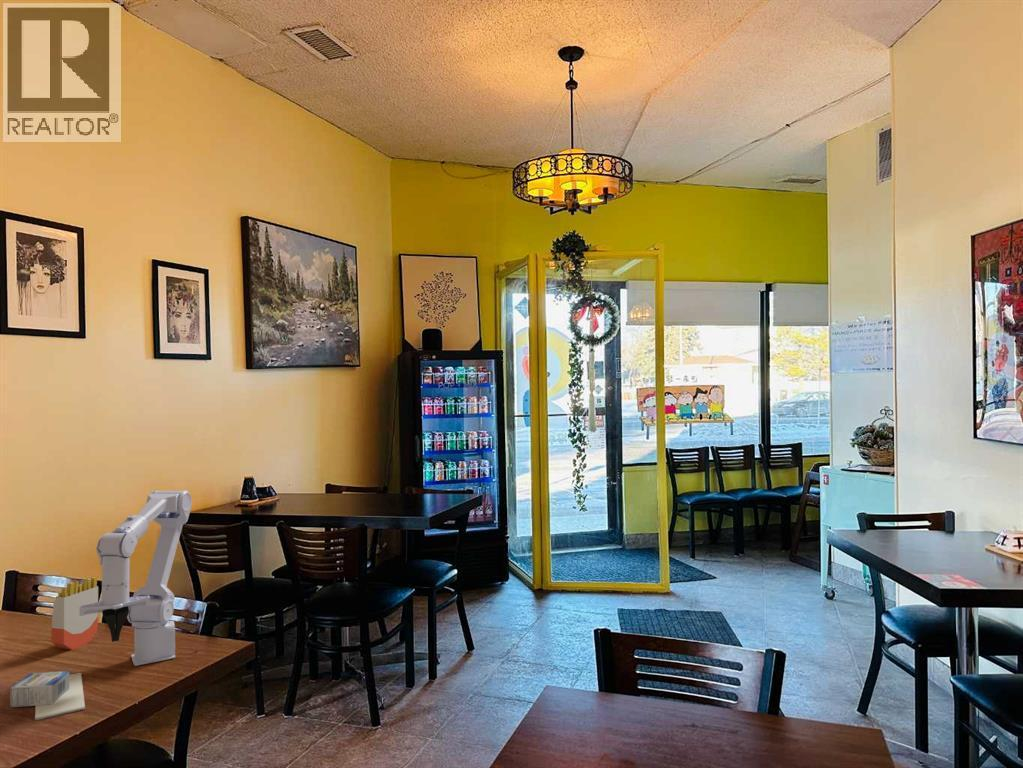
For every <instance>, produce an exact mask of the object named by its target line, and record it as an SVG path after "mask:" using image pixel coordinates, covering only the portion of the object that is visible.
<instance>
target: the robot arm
mask: <svg viewBox="0 0 1023 768" xmlns="http://www.w3.org/2000/svg"><path fill="white" fill-rule="evenodd" d="M192 505H193V500H192V495H191V494H190V492H189V491H188V490H186V489H184V490H157V489H154V490H152V491H151V492H150V493H149V494H148V495H147V498H146V503H145V505H144V506H143V507H142V508H141V510H140V511H138V513H137V514H133V515H131V514H130V515H128V516H126V519H124V521H123V522H122V523H120V524H119V525H118V526H117V527H115V529H114V530H112V531H111V532H106V533H105V534H103V535H101V536H100V538H99V539H98V541H97V544H96V545H97V546H96V549H95V550H96V553H97V556H98V557H99V560H98V561H99V565H100V566H101V601H98V602H96V603H92V604H87V605H82V606H80V610H79V614H80V616H84V615H86V614H92V613H98V614H99V613H101V614H102V617H103V618H104V620H105V622H106V624H107V626H108V628H109V632H110V637H111V638H110V639H111V642H112V643H114V642H118V641H119V640H120V636H121V632H122V629H123V626H124V623H125V621H126V619H127V621H128V622H129V623H130V624H131V628H134V644H133V645H134V648H133V649H134V650H133V651H134V653H133V654H131V655H130V657H131V660H132V664H133V665H134V667H136V666H140V665H146V664H152V663H156V662H162V661H166V660H172V659H175V658H176V628H175V627H176V626H175V621H174V620H171V619H172V617H173V613H174V609H175V607H174V605H175V604H174V603H175V594H174V593H173V592H172V590H171V589H169V588H168V587H167V586H168V582H169V578H170V575H171V571H172V568H173V567H172V566H173V563H174V560H175V556H176V551H177V548H178V545H179V540H180V537H181V533H182V529H183V527H184V526H183V525H185V524H186V523H187V522H188V520H189V518H190V517H189V516H190V513H191V510H192ZM153 520H154V523H156V524H158V525H160V531H159V535H158V538H157V542H156V545H155V549H154V553H153V556H152V561H151V563H150V568H149V572H148V575H147V577H146V581H145V584H144V585H143V586H141V587H139V588H138V589H137V590H135V591H134V593H133V595H132V596H131V597H130V568H131V567H130V565H131V564H130V562H131V561H130V557H131V556H132V555H133V553H134V552H135V549H136V546H137V545H138V542H139V540H140V539H142V537H143V536H144V535H145V534H146V533H147V531H148V530H149V524H150V523H151V522H152V521H153Z"/></svg>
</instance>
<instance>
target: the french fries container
mask: <svg viewBox="0 0 1023 768" xmlns="http://www.w3.org/2000/svg"><path fill="white" fill-rule="evenodd" d="M79 582H80V581H78V580H76V581H75V580H74V582H68V583H66V584H67V585H66V587H65V588H64V587H62V588H61V591H59V592H57V595H56V596H55V600H54V601H53V606H52V607H53V608H52V616H51V617H52V619H51V634H50V635H51V639H50V640H51V641H50V642H51V643H50V644H53V645H54V646H56V647H58V648H60V649H65V650H76V649H78V648H79V647H82V646H85V645H87V644H89V643H90V642H91V641H92V639H93V638H94V636H95V635H96V634H97V632H98V630H99V628H98V627H99V612H98V613H92V614H86V615H84V616H80V614H79V610H80V606H82V605H87V604H92V603H96V602H99V586H98V585H97V584H98V577H97V576H93V577H91V578H90V580H88V578H87V577H85V578H82V583H80V584H79Z"/></svg>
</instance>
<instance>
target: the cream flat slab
mask: <svg viewBox="0 0 1023 768" xmlns="http://www.w3.org/2000/svg"><path fill="white" fill-rule="evenodd" d="M85 704H86V703H85V694H84V686H83V678H82V672H78V673H73V674H69V690H67V691H66V692H65V693H64V694H63V695H62V696H60V697H59V698H58V699H57V700H56V701H55V702H54V703H53V704H50V705H36V706H35V713H34V714H35V715H34V721H40V720H44V719H48V718H53V717H57V716H62V715H67V714H71V713H75V712H79V711H84V710H86V705H85Z"/></svg>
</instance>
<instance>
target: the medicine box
mask: <svg viewBox="0 0 1023 768" xmlns="http://www.w3.org/2000/svg"><path fill="white" fill-rule="evenodd" d="M69 675H70V671H69V670H65V671H47V672H31V673H29V674H27V675H25V677H23V678H22V679H20V681H18V682H17V683H15V684H14V685H13V686H11V687H10V693H9V697H10V698H9V699H10V707H11V708H18V707H20V708H21V707H33V706H34V707H36V705H50V704H53V703H54V702H55V701H56V700H57V699H58V698H59V697H60V696H62V695H63V694H64V693H65V692H66V691H67V690H69Z"/></svg>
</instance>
